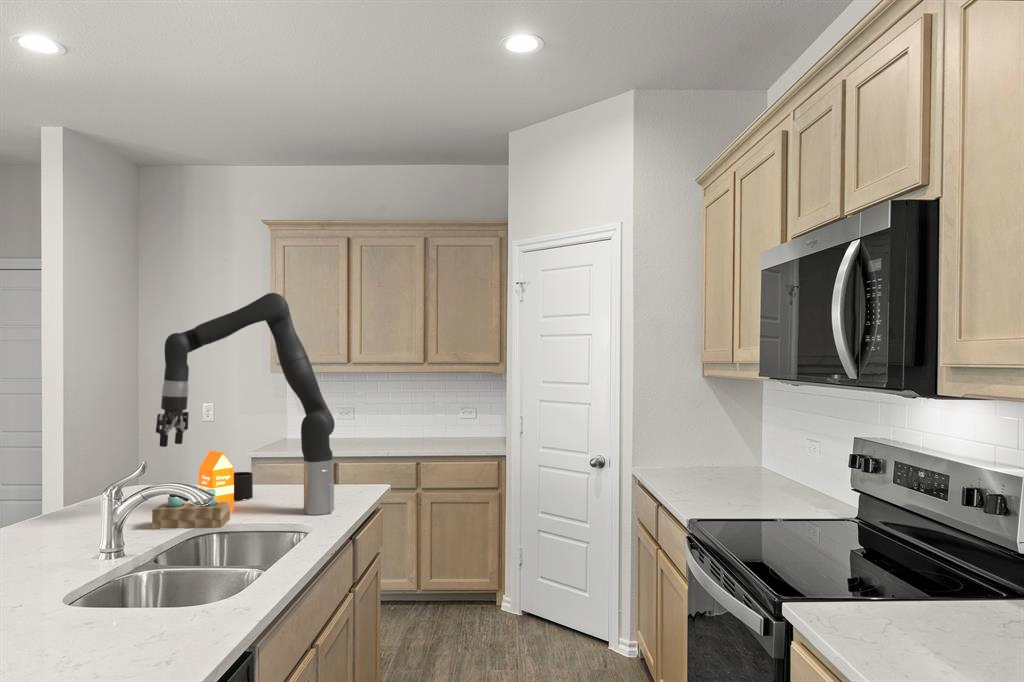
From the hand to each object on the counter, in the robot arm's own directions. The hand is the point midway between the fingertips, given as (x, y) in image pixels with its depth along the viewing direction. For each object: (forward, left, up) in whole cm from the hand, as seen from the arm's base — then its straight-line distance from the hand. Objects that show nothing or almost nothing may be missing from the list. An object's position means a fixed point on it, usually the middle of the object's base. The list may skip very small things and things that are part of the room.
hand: (171, 445), depth 226 cm
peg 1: (-5, +9, -19) cm, 22 cm away
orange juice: (-11, -10, -24) cm, 28 cm away
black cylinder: (-13, -31, -24) cm, 41 cm away
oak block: (-10, +9, -24) cm, 27 cm away
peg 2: (-15, +9, -19) cm, 26 cm away
